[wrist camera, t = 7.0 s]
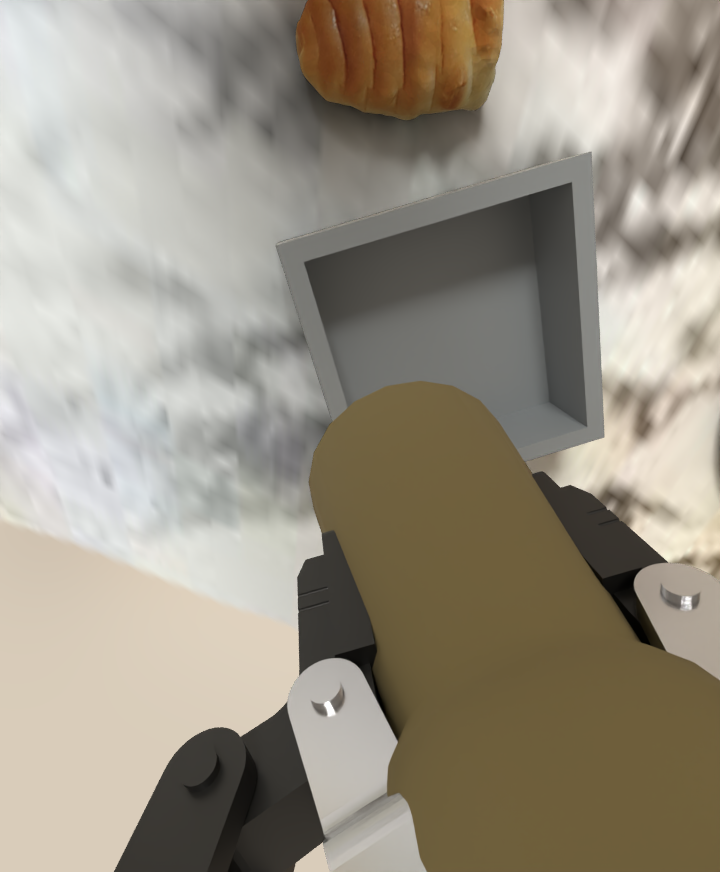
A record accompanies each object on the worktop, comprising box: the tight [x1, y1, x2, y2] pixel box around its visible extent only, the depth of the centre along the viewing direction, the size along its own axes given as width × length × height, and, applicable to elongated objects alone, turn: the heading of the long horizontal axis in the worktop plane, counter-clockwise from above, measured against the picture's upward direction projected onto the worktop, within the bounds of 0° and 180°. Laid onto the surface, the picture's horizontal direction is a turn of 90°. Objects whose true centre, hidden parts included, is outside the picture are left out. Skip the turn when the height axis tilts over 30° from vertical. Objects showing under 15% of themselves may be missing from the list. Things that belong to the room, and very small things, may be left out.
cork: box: [309, 381, 720, 872], centre depth 9 cm, size 6×6×11 cm
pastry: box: [296, 0, 504, 120], centre depth 21 cm, size 9×7×4 cm
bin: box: [276, 152, 604, 462], centre depth 27 cm, size 15×15×5 cm
